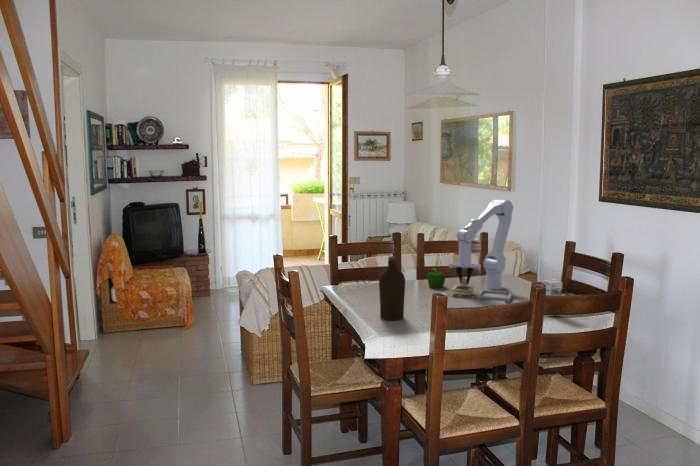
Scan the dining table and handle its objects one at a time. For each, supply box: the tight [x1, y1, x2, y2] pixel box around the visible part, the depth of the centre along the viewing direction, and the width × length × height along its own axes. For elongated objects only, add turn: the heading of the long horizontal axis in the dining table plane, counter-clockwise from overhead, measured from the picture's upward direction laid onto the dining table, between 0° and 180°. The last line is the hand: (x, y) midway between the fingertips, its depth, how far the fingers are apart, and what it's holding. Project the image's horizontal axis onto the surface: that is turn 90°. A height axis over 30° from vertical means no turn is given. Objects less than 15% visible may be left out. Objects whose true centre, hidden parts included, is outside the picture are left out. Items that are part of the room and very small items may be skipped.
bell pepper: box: [427, 267, 446, 289], centre depth 305 cm, size 8×8×10 cm
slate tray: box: [476, 289, 513, 304], centre depth 285 cm, size 14×14×2 cm
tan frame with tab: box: [450, 276, 475, 295], centre depth 288 cm, size 12×9×6 cm
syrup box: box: [542, 278, 563, 296], centre depth 254 cm, size 6×6×14 cm
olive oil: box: [378, 255, 406, 321], centre depth 250 cm, size 11×11×25 cm
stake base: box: [447, 285, 479, 299], centre depth 289 cm, size 12×12×5 cm
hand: (464, 283), depth 292 cm, fingers closed on tan frame with tab, 2 cm apart
